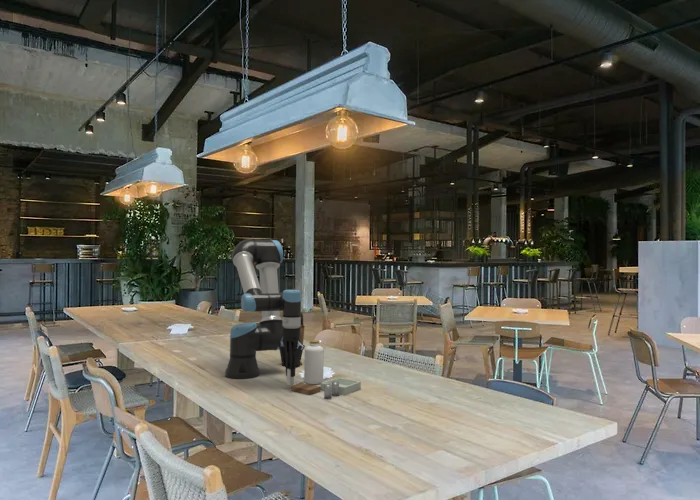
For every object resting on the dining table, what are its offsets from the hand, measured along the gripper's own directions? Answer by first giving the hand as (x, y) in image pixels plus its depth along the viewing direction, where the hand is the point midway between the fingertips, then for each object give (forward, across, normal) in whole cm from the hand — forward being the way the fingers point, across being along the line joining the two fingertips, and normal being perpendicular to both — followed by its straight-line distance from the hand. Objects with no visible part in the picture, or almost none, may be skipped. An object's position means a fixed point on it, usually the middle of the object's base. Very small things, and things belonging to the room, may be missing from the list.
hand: (290, 384), depth 207 cm
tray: (+2, +18, +11) cm, 21 cm away
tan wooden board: (+2, +8, 0) cm, 8 cm away
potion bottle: (+2, +2, +14) cm, 14 cm away
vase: (+1, -28, +35) cm, 45 cm away
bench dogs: (+2, +21, 0) cm, 21 cm away
